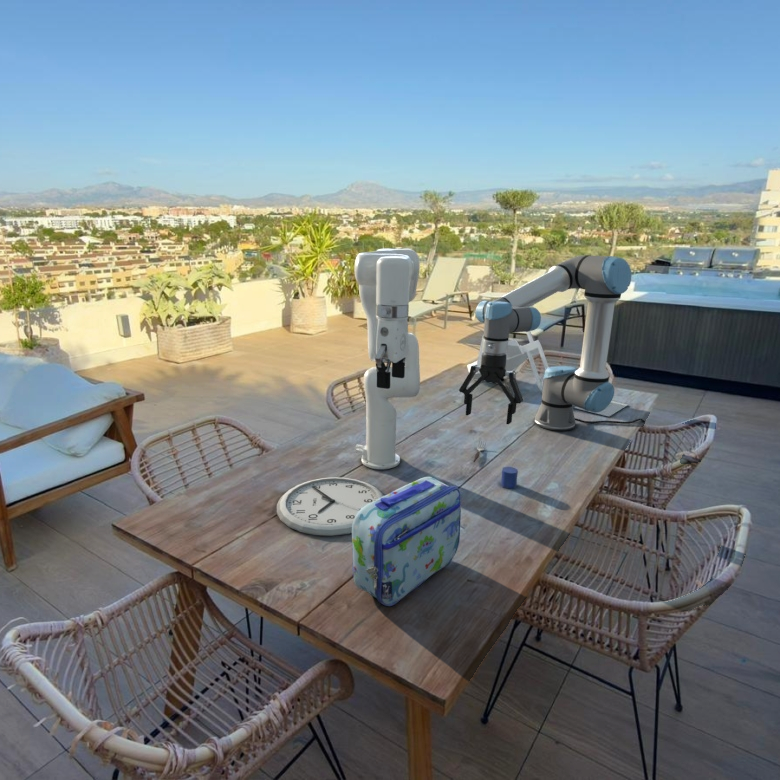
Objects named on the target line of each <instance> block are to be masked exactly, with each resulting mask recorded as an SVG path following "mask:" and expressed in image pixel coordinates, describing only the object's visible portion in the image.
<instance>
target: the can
mask: <svg viewBox="0 0 780 780" xmlns="http://www.w3.org/2000/svg"><path fill="white" fill-rule="evenodd" d="M518 471H519V470H518V468H516V467H513V466H503V467H502V469H501V478H500V486H501V487H502V488H505V489H515V488H516V487H517V483H518Z"/></svg>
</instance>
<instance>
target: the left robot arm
mask: <svg viewBox="0 0 780 780" xmlns="http://www.w3.org/2000/svg"><path fill="white" fill-rule="evenodd" d="M420 266H421V263H420V258H419V255H418V253H417V252H416V251H415V250H414V249H410V248H380V249H379V248H378V249H376V250H373V251H366V252H359V253H358V254H357V255H356V257H355V260H354V270H353V271H354V278H355V281H356V283H357V284H358V292H359V299H360V303H361V306H362V308H363V312H364V313H365V316H366V323H367V355H368V358H369V360H370V361H371V362H373V363H375V367H371V368H368V369H366V371H365V372H364V374H363V387H364V396H365V410H366V411H365V416H366V417H365V418H366V419H365V423H366V424H365V426H366V427H365V445H362V444H355V447H354V449H355V453H356V454H360V455H361V454H362V456H361V464H362V465H363V466H364V467H367V468H369V469H372V470H373V469H374V470H389V469H393V468H396V467H397V466H398V465H400V463H401V457H400V455H398V454H397V453H396V448H397V409H396V406H395V405H394V403H393V402H392V401H391V400H390V399H392V398H414V397H416V396H418V395H419V393H420V389H421V388H420V387H421V369H420V346H419V340H418V338H417V336H416V335H415V334H414V333H411V332H409V324H408V323H409V322H408V320H409V309H410V308H409V305H410V303H409V302H412V301H413V300H414V298H415V297H416V293H417V288H418V283H419V276H420V271H421V270H420V268H421V267H420Z"/></svg>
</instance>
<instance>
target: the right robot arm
mask: <svg viewBox="0 0 780 780" xmlns="http://www.w3.org/2000/svg"><path fill="white" fill-rule="evenodd" d="M631 282H632V269H631V266H630V264H629V263H628V261H627V260H626V259H624V258H622V257H617V256H613V255H590V254H582V255H576V256H574V257H571V258H569V259H566V260H564V261H561V262H559V263H557V264H555V265H554V266H552V267H550V268H549V269H548V272H546V273H544V274H543V275H541V276H538V277H536V278H535V279H532V280H531V281H529V282H526V283H525V284H523V285H521V286H520V287H518V288H516V289H513V290H511V291H510V292H508V293H506V294H504V295H503V296H500V297H499V298H497V299H495V300H492V301H491V300H482V301H480V302H479V303H478V304H477V306H476V308H475V317H476V319H477V321H478V322H480V323H482V324H484V325H483V335H484V336H483V335H482V336H483V347H482V351H483V353H482V358H481V367H478V366H477V365H473V366H471V368H470V373H469V372H468V374H467V376H466V378H465V379H464V381H463V382H462V384H461V386H460V387H459V389H458V391H459V392H460V393H462V394H463V396H464V397H463V404H464V405H465V416H468V417H469V416H470V415H471V414H472V406H473V395H474V394H473V393H472V392H473V391H474V390H475V389H476V388H478V386H479V385H480V384H481V383H483V382H485V383H489V384H490V383H491V384H493V385H496V384H497V385H498V386H499V387H500V389H501V390H502V392H503V393H504V394H505V396H506V398H507V399H508V401H509V402H508V404H507V413H506V421H505V424H506V425H510V424H512V421H513V415H515V414H516V412H517V404H522V402H524V397H523V395H522V392H521V389H520V387H519V384H518V381H517V378H516V377H517V376H516V375H517V373H516V371H515V370H512V371H510V372H508V371H506V369H505V367H506V358H507V355H506V354H505V353H507V348H508V341H509V340H510V339H509V338H510V334H513V333H526V332H529V331H530V332H533V331H535V330H537V329H538V328H539V327H540V325H541V321H542V320H541V319H542V315H541V313H540V310H539V309H538V308H536V307H534V305H536V304H538V303H539V302H542V301H543V300H545V299H547V298H549V297H550V296H553V295H555V294H557V293H558V292H559V293H564V292H566V291H569V290H572V289H579V290H580V289H581V290H584V295H583V296H584V298H585V299H586V300H587V308H586V316H585V324H584V330H583V331H584V332H583V340H582V346H581V355H580V363H579V368H577V367H574V366H569V365H568V366H567V365H557V366H549V368H547V369H546V370H545V369H544V370H545V371H544V375H543V378H542V379H543V381H542V387H543V391H541V402H540V405H539V407H538V409H537V411H536V413H535V417H534V424H535V425H536V426H537V427H539V428H542V429H544V430H549V431H556V432H567V431H572V430H574V429H575V428H576V421H577V422H580V423H582V424H601V423H602V424H606V423H607V424H621V425H624V424H625V425H627V424H629V425H630V424H634V423H636V422H639V421H641V422H643V423H646V421H645V419H644V418H636V419H633V420H630V421H618V420H593V421H591V420H589V421H588V420H584V419H583V420H582V419H580V418H575V417H576V416H575V413H574V407H579V408H582V409H584V410H586V411H585V412H588V411H591V412H590V413H592V412H601V411H603V410H604V409H605V408H606V407H607V406H608V405H609V404H610V402H611V401H613V398H614V396H615V387H614V385H613V384H612V383H611V382H610V381H609V380H610V374H609V373H608V371H607V370H606V369H607V363H608V362H607V361H608V355H609V348H610V340H611V333H612V326H613V319H614V312H615V305H616V303H617V301H619V300H620V299H621V296H622V294H624V293H626V292H627V290H628V289H629V287H630V285H631ZM478 371H479V372H480V374H481V377H480V378H479V379H476V380H475V382H474V383H472V385H470V383H471V382H472V380H473V379H472V378H473V377H474V375H475V373H476V372H478ZM505 375H506V376H505ZM505 377H507V379H508V381H509V384H510V387H509V385H508V384H507V381H506V379H505ZM469 385H470V386H469ZM468 386H469V387H468ZM573 406H574V407H573ZM584 410H583V411H584Z"/></svg>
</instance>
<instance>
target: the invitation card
mask: <svg viewBox="0 0 780 780" xmlns="http://www.w3.org/2000/svg"><path fill="white" fill-rule="evenodd" d="M628 406H629V404H627V403H623V402H618V401H614V400H612V401H611V402H610V404H609V405H608V406H607V407H606V408H605V409H604V410H603V411H601V412H591V411H586V410H584V409H582V408H579V407H576V406H574V407H573V409H575V410H581V411H584V412H587V413H593V414H596V415H600V416H604V417H608V418H609V417H611V416H613V415H614V414H616V413H617V412H619V411H621V410H623V409H624V408H626V407H628Z"/></svg>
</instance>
